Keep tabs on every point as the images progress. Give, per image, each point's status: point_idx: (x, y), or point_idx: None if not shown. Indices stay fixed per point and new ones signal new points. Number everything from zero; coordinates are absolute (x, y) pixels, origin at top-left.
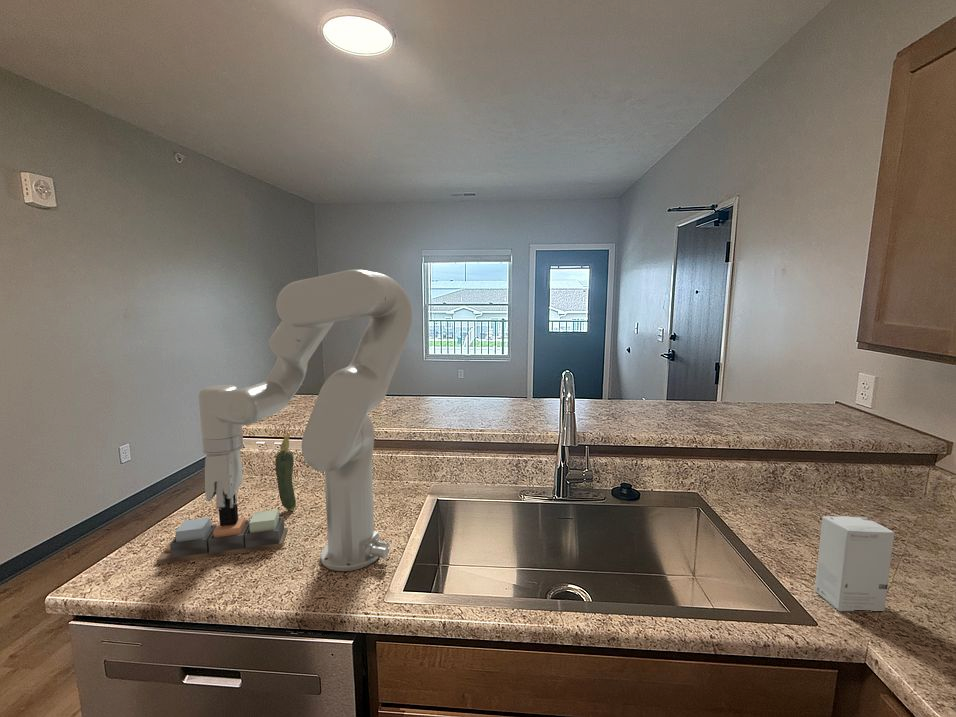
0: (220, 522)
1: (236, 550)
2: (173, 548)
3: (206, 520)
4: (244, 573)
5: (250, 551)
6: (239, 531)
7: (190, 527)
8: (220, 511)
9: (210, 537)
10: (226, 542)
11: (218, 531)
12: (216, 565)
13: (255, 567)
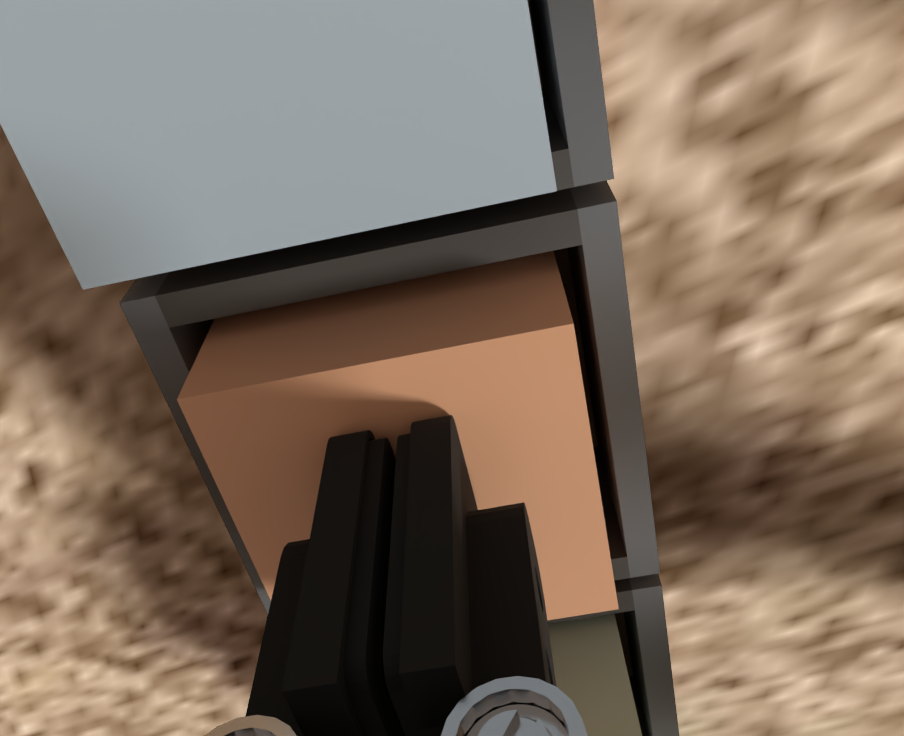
0: (324, 477)
1: None
2: None
3: (415, 186)
4: (6, 604)
5: None
6: None
7: (73, 4)
8: (306, 652)
9: (177, 310)
10: None
11: (210, 445)
12: (63, 346)
13: (99, 640)
